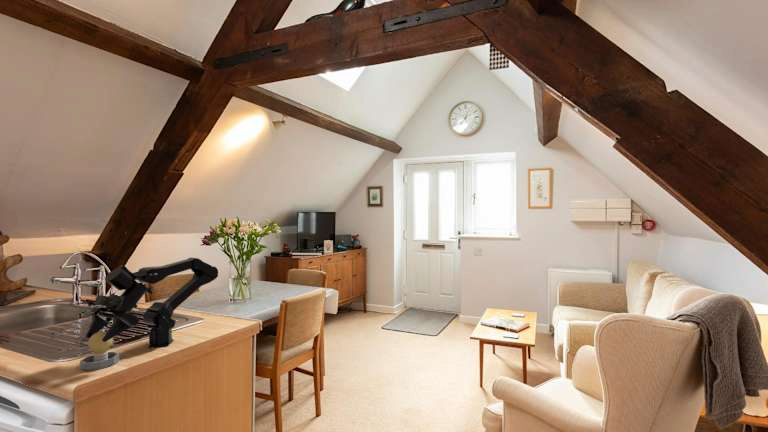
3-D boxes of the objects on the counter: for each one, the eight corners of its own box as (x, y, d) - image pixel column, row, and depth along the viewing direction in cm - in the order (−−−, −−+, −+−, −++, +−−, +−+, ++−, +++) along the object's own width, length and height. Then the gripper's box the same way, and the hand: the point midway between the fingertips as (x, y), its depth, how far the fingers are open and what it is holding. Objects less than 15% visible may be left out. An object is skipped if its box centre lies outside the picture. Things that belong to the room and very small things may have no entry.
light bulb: (114, 357, 128) (113, 328, 128) (111, 363, 122) (111, 333, 122) (90, 361, 125) (90, 331, 125) (86, 368, 119) (86, 336, 119)
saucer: (123, 357, 129) (123, 350, 129) (109, 368, 120) (109, 361, 120) (91, 360, 127) (91, 353, 127) (74, 371, 118) (74, 364, 118)
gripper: (95, 283, 131) (58, 323, 121) (128, 286, 123) (91, 330, 113) (120, 300, 138) (86, 340, 128) (153, 305, 130) (119, 347, 120)
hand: (95, 339), depth 122 cm, fingers open, 9 cm apart
